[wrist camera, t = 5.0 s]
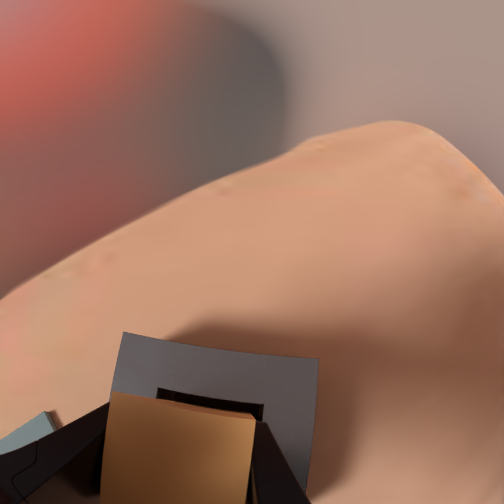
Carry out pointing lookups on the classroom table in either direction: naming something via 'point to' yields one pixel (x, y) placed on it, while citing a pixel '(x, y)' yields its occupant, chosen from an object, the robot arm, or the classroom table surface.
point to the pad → (28, 433)
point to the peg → (174, 453)
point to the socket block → (228, 386)
